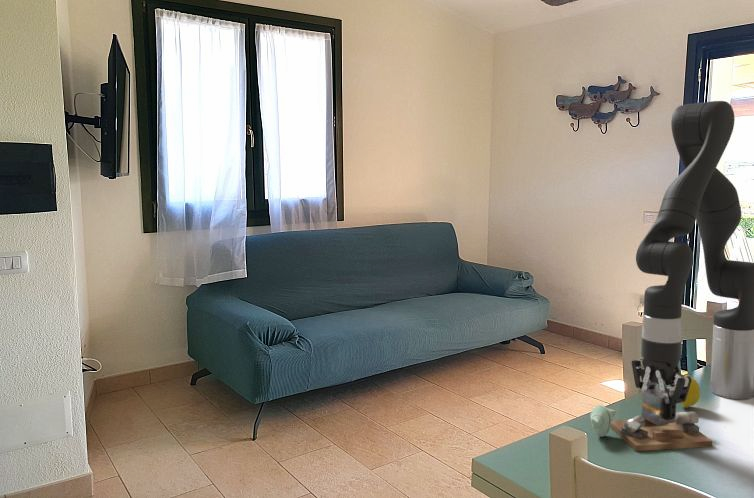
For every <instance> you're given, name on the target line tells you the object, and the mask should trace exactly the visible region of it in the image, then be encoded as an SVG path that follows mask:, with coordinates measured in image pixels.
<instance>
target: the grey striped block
mask: <svg viewBox="0 0 754 498" xmlns="http://www.w3.org/2000/svg"><path fill="white" fill-rule="evenodd" d="M669 395H670V397H671V394H670V392H669ZM664 403H665V401H664V396H663V393H662V392H661V391H660V386H659V387H655V388H654V389H649V390H644V391H643V393H642V403H641V406H642V409H641V410H642V411H641V416H642V418H644V419H646V420H648V421H650V422H652V423H654V424H656V425H658V426H661V425H665V424H669V423H673V422H675V418H676V416H675V418H674V419H672V420H668V421H667V420H665V419H664V418H663V416H664Z"/></svg>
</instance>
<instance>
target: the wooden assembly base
mask: <svg viewBox="0 0 754 498" xmlns="http://www.w3.org/2000/svg"><path fill="white" fill-rule="evenodd" d="M636 416H637V415H635V416H634V417H636ZM640 416H641V417H642V415H640ZM630 419H631V418H628V419H613V420H612V423H611V427H610V429H611V430H613V431H614V432H615V433H616V435H618V436H619V437H620V438H621V439H622V440H623V441H624V442H625V443H626V444H627V445H629V447H631V448H632V449H633V450H634V451H636V452H644V451H647V452H648V451H662V450H675V449H676V450H677V449H692V448H693V449H694V448H707V447H713V440H712V439H710V438H709V437H707V435H705V434H703V433H702V432H700V427H699V426H698V425H697V424H698V423H699V415H698V413H697V412H696V411H683V412H682V411H680V412H676V418H675V422H673V423H669V424H665V425H661V426H658V425H656V424H654V423H652V422H650V421H648V420H646V419H644V418H643V419H644V420H645V425H644V426H643V427H642V428H640V429H642V430H645V431H648V437H647V438H645V439H643V440H639V439H636V438H634V437H631V436H628V435H625V434H622V427H624V424H625V422H627V421H628V420H630Z"/></svg>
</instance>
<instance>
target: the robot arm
mask: <svg viewBox="0 0 754 498" xmlns="http://www.w3.org/2000/svg"><path fill="white" fill-rule="evenodd" d="M735 119H736V118H735V112H734V109H733V106H732V105H731V104H730V103H729V102H728V101H725V100H724V101H723V100H713V101H706V102H705V101H703V102H693V103H688V104H687V103H686V104H681V105H679V106H677V107H676V108H675V109H674V110H673V112H672V115H671V121H670V122H671V123H670V124H671V131H672V132H671V133H672V138H673V142H674V144H675V148H676V150H677V152H678V153H677V154H678V156H679V158H680V161H681V164H682V167H683V171H682V172H681V173H680V174H679V175H678V176H677V177H676V178H675V179H674V180H673V181H672V182H671V183H670V185H669V186H668V187H667V189H666V191H665V193H664V195H663V198H662V201H661V205H660V207H659V210H658V215H657V217H656V220H655V221H654V222H653V224H652V225H651V227H650V229H648V232H647V233H646V234H645V236H644V237H643V239H642V241H641V242H640V244H639V245H638V247H637V250H636V254H635V262H636V266H637V268H638V269H639V271H640V272H642V273H644V274H649V275H655V276H657V275H658V276H664V277H665V276H666V277H667V280H666V282H665V284H661V285H660V284H659V285H652V286H648V287H647V288H646V289H645V290H644V296H643V317H642V323H641V347H640V348H641V349H640V351H641V352H640V356H641V357H642V358H640V359H639V358H638V359H633V360H631V367H632V373H633V380H634V384H635V388H637V389H640V390H641V393H642V394H643V391H644V390H649V389H654V388H657V385H658V386H659V387H660V391H661V392H662V393H663V396H664V401H665V403H664V416H663V418H664V419H665V420H667V421H668V420H672V419H674V418H675V416H676V413H677V404H680V403H681V402H685V400H686V397H687V394H688V391H689V388H690V384H691V381H692V379H691V376H690V375H689V376H690V377H689V376H687V377H685V375H684V374H682V373H681V371H680V368H679V363H680V361H681V359H682V358H681V357H682V342H683V341H682V339H683V337H682V336H683V325H682V308H683V306H682V305H683V304H682V303H683V295H684V291H685V287H686V284H687V282H688V279H689V277H690V273H691V271H692V268H693V265H694V260H695V259H694V251H692V248H691V247H690V246H689V244H687V243H685V242H679V241H670V240H671V239H673V238H677V237H683V236H686V235H689V234H690V233H691V232H692V231H693V229H694V226H695V223H697V227H698V228H697V229H698V231H699V236H700V240H701V244H702V250H703V259H704V267H705V275H706V281H707V286H708V288H709V291H710V292H711V293H712V294H713V295H714V296H716V297H721V298H727V299H733V300H738V305H737V306H736V307H734V308H729V309H722V310H718V311H716V312H715V313H714V314H713V322H712V323H713V325H712V346H711V368H710V369H711V371H710V391H711V392H712V393H713V394H715V395H717V396H719V397H723V398H727V399H732V400H733V399H735V400H748V399H751V398H753V397H754V262H750V261H740V260H732V259H731V260H729V259H728V258H727V257H726V252H725V248H726V245H727V244H728V241H729V240H730V238H731V237H732V235H734V232H735V231H736V229H737V228H738V226H739V224H740V223H741V219H742V208H741V203H740V199H739V194H738V191H737V188H736V186H735V185H734V184H733V183H732V182H731V181H730V179H728V177H727V176H726V175H724V174H723V173H722V172H721V171H720V170H719V169H718V165H719V162H720V161H721V159H722V156H723V155H724V152H725V150H726V148H727V146H728V144H729V142H730V139H731V137H732V134H733V132H734V127H735V121H736V120H735ZM669 392H670V394H671V397H670V395H669Z"/></svg>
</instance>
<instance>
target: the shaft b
mask: <svg viewBox="0 0 754 498" xmlns="http://www.w3.org/2000/svg"><path fill="white" fill-rule="evenodd" d="M635 416H636V417H635ZM635 416H634V417H632V418H629V419H630V420H628V421H627V422H625V424H624V427H622V434H625V435H628V436H631V437H634V438H636V439H639V440H643V439H645V438H647V437H648V431H645V430H642V429H640V428H642V427H643V426H644V425H645V420H644V419H643V418H642V417H641V416H642V415H635Z"/></svg>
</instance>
